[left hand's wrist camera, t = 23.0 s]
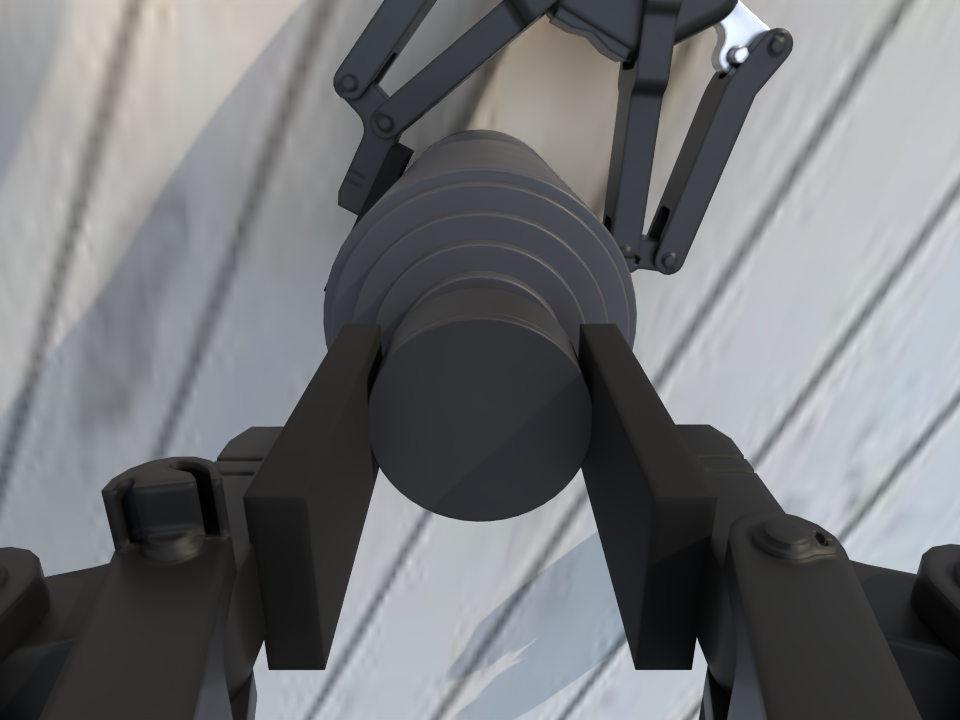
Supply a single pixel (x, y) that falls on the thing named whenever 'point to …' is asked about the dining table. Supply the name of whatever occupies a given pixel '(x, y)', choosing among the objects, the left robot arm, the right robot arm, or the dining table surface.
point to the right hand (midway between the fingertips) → (430, 331)
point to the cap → (480, 406)
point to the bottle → (480, 242)
